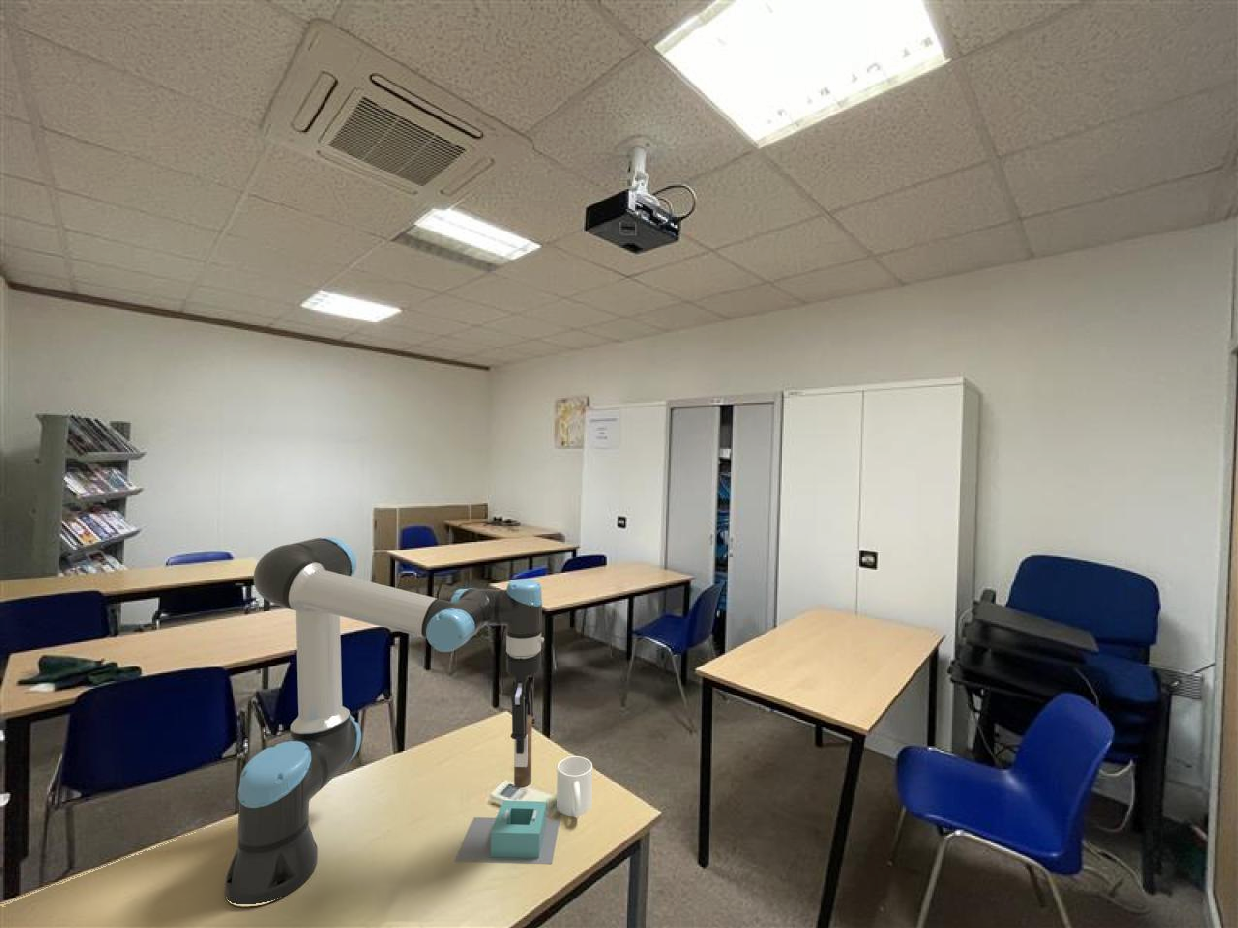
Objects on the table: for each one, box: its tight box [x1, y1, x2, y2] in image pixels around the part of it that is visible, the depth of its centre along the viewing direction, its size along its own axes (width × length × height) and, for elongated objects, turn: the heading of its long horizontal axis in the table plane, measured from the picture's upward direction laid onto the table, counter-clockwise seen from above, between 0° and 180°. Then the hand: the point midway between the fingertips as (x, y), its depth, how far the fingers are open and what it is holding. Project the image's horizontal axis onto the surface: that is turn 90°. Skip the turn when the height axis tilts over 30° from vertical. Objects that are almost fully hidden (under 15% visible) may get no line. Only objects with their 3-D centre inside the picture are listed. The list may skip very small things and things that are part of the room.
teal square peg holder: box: [491, 799, 548, 858], centre depth 109 cm, size 10×10×6 cm
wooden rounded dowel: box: [513, 714, 533, 789], centre depth 109 cm, size 4×4×14 cm
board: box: [454, 816, 561, 865], centre depth 109 cm, size 20×13×1 cm, turn 89°
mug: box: [556, 755, 593, 819], centre depth 119 cm, size 12×8×10 cm
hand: (522, 760), depth 109 cm, fingers closed on wooden rounded dowel, 3 cm apart
